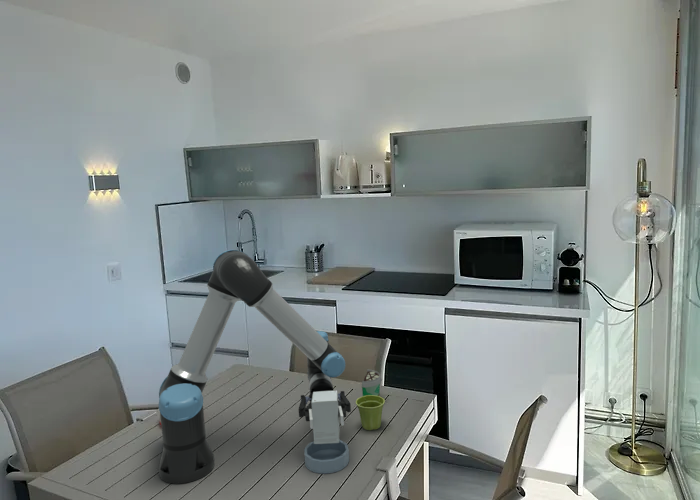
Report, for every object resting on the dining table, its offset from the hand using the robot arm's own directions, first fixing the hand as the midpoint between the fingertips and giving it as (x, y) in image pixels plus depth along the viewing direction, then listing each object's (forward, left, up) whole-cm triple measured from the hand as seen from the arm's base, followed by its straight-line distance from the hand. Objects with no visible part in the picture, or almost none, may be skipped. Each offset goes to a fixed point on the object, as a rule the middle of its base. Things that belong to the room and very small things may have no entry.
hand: (327, 422), depth 142 cm
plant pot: (+16, +23, -14) cm, 31 cm away
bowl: (0, +5, -14) cm, 15 cm away
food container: (+20, +41, -14) cm, 47 cm away
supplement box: (0, +5, -7) cm, 9 cm away
